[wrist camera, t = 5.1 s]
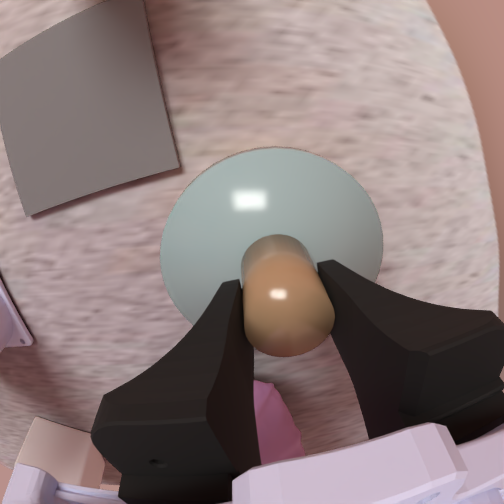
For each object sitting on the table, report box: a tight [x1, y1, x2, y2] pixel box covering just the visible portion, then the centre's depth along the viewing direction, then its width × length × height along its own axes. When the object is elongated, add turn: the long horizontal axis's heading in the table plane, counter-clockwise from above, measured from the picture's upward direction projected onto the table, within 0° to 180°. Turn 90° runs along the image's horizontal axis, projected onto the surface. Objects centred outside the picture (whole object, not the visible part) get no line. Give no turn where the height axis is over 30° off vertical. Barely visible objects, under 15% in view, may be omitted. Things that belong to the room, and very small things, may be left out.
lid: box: [160, 146, 383, 357], centre depth 12 cm, size 9×9×4 cm
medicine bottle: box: [14, 417, 105, 489], centre depth 20 cm, size 7×7×12 cm
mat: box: [0, 0, 181, 217], centre depth 13 cm, size 10×10×1 cm
